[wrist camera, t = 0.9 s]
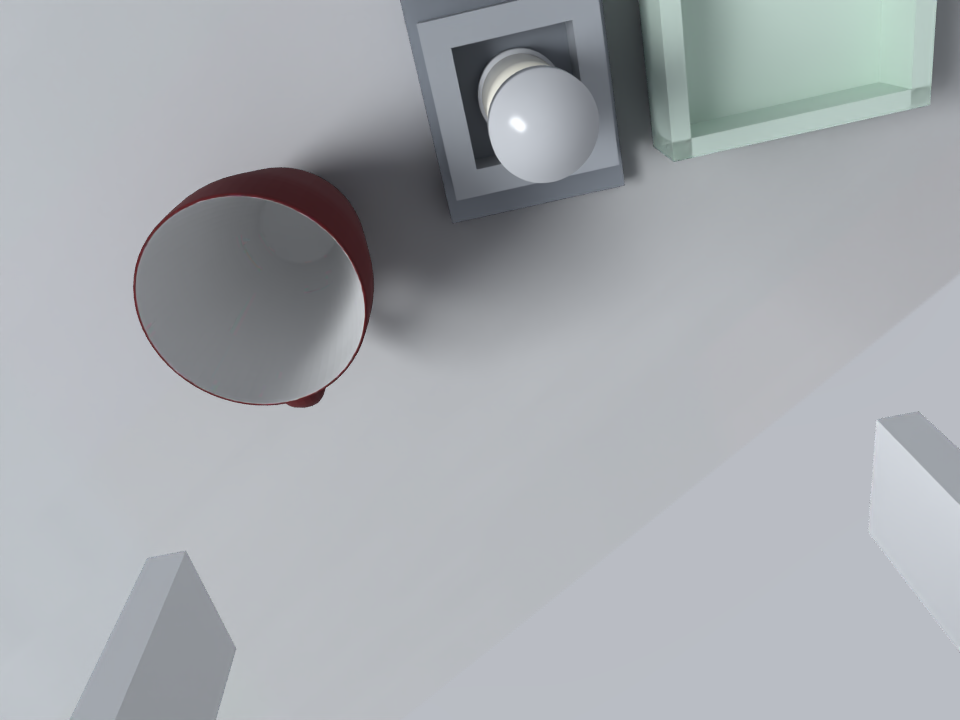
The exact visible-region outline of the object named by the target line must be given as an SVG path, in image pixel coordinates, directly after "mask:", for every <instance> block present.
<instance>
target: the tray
mask: <svg viewBox="0 0 960 720" xmlns="http://www.w3.org/2000/svg"><path fill="white" fill-rule="evenodd" d="M936 6H937V0H639V9H640V19H641V28H642V38H643V48H644V58H645V68H646V78H647V88H648V98H649V107H650V117H651V127H652V137H653V146H654V147H655V148H656V149H657V150H659V151H660V152H661V153H663V154H664V155H665V156H667V157H668V158H669V159H671V160H672V161H673V162H675V161H680V160H684V159H689V158H693V157H698V156H702V155H707V154H711V153H716V152H720V151H725V150H729V149H734V148H738V147H743V146H747V145H752V144H756V143H761V142H766V141H770V140H775V139H779V138H784V137H788V136H793V135H797V134H802V133H806V132H811V131H815V130H820V129H824V128H829V127H833V126H838V125H842V124H847V123H851V122H856V121H860V120H865V119H869V118H874V117H878V116H883V115H887V114H892V113H896V112H901V111H905V110H910V109H914V108H919V107H923V106H928V105H930V98H931V83H932V67H933V52H934V37H935V22H936Z"/></svg>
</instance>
